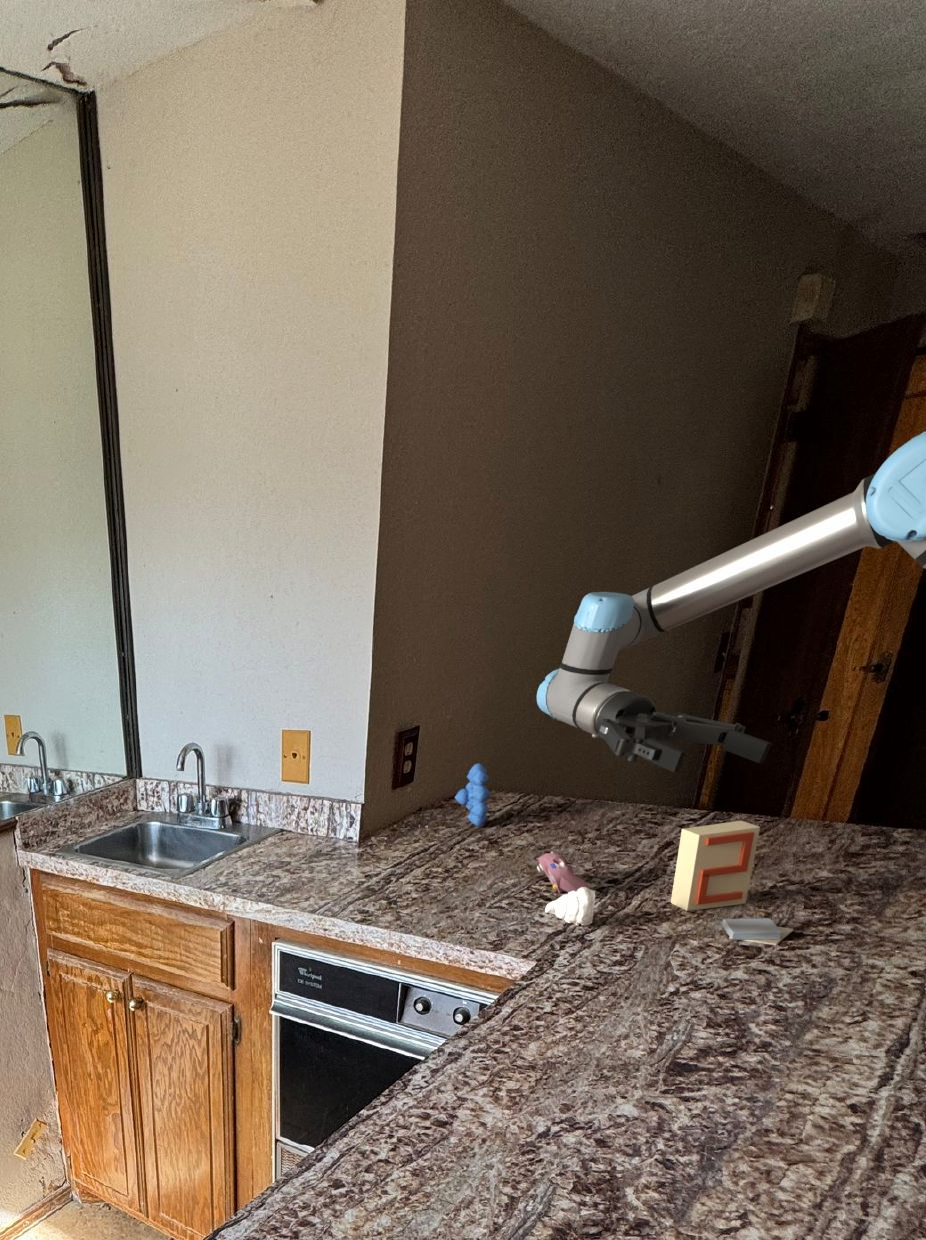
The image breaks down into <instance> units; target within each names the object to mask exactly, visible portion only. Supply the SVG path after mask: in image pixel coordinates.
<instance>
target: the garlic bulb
mask: <svg viewBox="0 0 926 1240" xmlns="http://www.w3.org/2000/svg"><path fill="white" fill-rule="evenodd" d="M595 902H596V890H593V889H591V888H590V889H588V888H587V887H581V888H579V889H578V891H571V892H569V893H568V892H567V893H564V894H563V895H561V896H560V897H558V898H557V899H556V900H552V901H549V902H548V903H547V904H546V906H545V909H544V910H545V913H546V914H548V913H549V914H552V915H555V917H556V918H558V919H560V920H561V919H562V920H564V922H566V923H568V924H574V925H576V926H578V927H579V926H580V925H581V926H584V927H585V926H589V925H591V924H592V923H593V920H594V913H595Z"/></svg>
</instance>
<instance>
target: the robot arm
mask: <svg viewBox="0 0 926 1240" xmlns="http://www.w3.org/2000/svg"><path fill="white" fill-rule="evenodd" d="M894 543H898V545H899V546H900V547H902V548H903V550H904V551H906V552H907V554H909V556H911V557H912V559H914V560H915V561H916V563H918V564H919V565H920V566H921V567H922V568H923V569H926V431H923V432H922V433H920V434H918V435H916V436H914V437H912V438H911V439H910V440H908V441H907V442H906V443H904V444H902V446H900V447H898V448H897V449H896V450H895V451H893V453H892V454H890V456H888V457H887V458H886V460H885V461H884V462H883V463H882V464H881V466H880V467H879V468H878V470H877V471H876V472H875V473H874V474H871V475H870V476H867V477H864V478H863V479H862V480H860V483H859V484H858V485H857V487H856V489H855V490H854V491H853V492H851V493H848V494H847V495H844V496H842V497H840V498H838V499H836V500H833V501H832V502H829V503H827V504H825V505H823V506H821V507H819V508H817V509H815V510H813V511H810V512H808V513H806V514H804V515H801V516H800V517H798V518H795V519H793V520H791V521H789V522H786V523H784V524H782V525H781V526H778V527H775V528H774V529H772V530H770V531H767V532H765V533H763V534H761V535H759V536H757V537H755V538H753V539H751V540H748V541H746V542H744V543H742V544H740V545H737V546H736V547H733V548H732V549H729V550H727V551H725V552H723V553H721V554H719V555H716V556H714V557H712V558H710V559H708V560H705V561H704V562H701V563H700V564H698V565H695V566H693V567H691V568H689V569H687V570H684V571H683V572H682V571H681V572H680V573H678V574H676V575H674V576H672V577H669V578H667V579H665V580H663V581H661V582H659V583H657V584H654V585H653V586H651V587H648V588H646V589H643V590H642V591H639V592H638V593H635V594H632V595H630V594H626V593H621V592H613V591H594V592H593V591H592V592H589V593H587V594H586V595H584V597H583V598H582V599H581V602H580V605H579V608H578V610H577V613H575V616H574V618H573V619H574V620H573V625H572V628H571V631H570V635H569V638H568V642H567V644H566V647H565V651H564V654H563V658H562V660H561V664H560V666H559V668H557V669H555V670H552V671H551V672H550V673H548V674H547V675H546V676H545V677H544V680H543V681H542V682H541V683H540V684H539V686H538V689H537V692H536V704H537V706H538V707H539V709H540V710H541V711H542V712H543V713H545V714H547V715H548V716H550V717H551V718H553V720H556V721H558V722H563V723H565V724H567V725H570V726H571V727H575V728H577V729H579V730H582V731H584V732H586V733H589V734H590V735H591V737H592V738H594V739H597V738H600V739H602V740H604V742H606V744H607V746H608V747H609V748H610V750H611V751H612V753H613V754H614V756H617V757H624V756H625V754H628V756H627V759H626V761H628V762H632V763H636V762H637V761H638V758H639V757H640V759H643V760H645V761H647V762H650V763H652V764H654V765H656V766H658V767H661V768H663V769H666V770H668V771H670V772H672V773H679V772H680V770H681V767H682V764H683V762H684V760H685V757H686V754H687V751H685V750H682V749H679V748H677V747H674V746H673V745H671V744H668V743H676V742H678V741H685V742H692V743H698V744H704V745H712V746H717V747H718V746H719V747H722V750H723V751H726V752H728V753H732V754H733V755H736V756H739V757H742V758H744V759H746V760H750V761H752V762H755V763H757V764H764V762H765V760H766V758H767V756H768V754H769V751H770V749H771V747H772V745H773V743H772V742H770V741H766V740H764V739H761V738H759V737H756V736H753V735H750V734H747V733H745V730H746V726H744V725H741V723H739V722H736V723H735V724H734V723H729V722H723V721H719V720H715V719H714V720H713V719H709V718H703V717H698V716H693V715H689V714H687V713H683V712H681V711H679V712H675V713H674V714H673V715H670V714H669V715H668V714H666V712H660V711H656V706H655V703H654V702H653V700H652V699H651V698H650V697H648V696H646V695H642V694H640V693H638V692H634V691H632V690H629V689H627V688H624V687H622V686H618V685H616V684H613V683H609V678H610V676H611V673H612V671H613V667H614V665H615V662H616V659H617V656H618V654H619V652H620V651H622V650H624V649H628V648H631V647H635V646H637V645H639V644H642V643H644V642H646V641H647V640H649V639H651V638H654V637H657V636H658V635H661V634H663V633H665V632H667V631H669V630H672V629H674V628H677V627H679V626H682V625H683V624H687V623H688V622H691V621H693V620H695V619H698V618H700V617H703V616H705V615H707V614H710V613H712V612H715V611H717V610H720V609H721V608H724V607H726V606H728V605H731V604H734V603H736V602H738V601H741V600H743V599H745V598H747V597H750V596H752V595H754V594H758V593H760V592H762V591H764V590H767V589H768V588H771V587H774V586H776V585H778V584H781V583H783V582H785V581H787V580H788V581H789V580H790V579H793V578H795V577H797V576H799V575H802V574H804V573H807V572H809V571H812V570H813V569H814V570H815V569H816V568H818V567H821V566H823V565H825V564H827V563H831V562H833V561H835V560H837V559H840V558H842V557H844V556H846V555H849V554H851V553H854V552H857V551H858V550H861V549H864V548H866V547H871V548H874V549H878V550H880V549H882V548H884V547H886V546H890V545H891V544H894ZM671 732H672V733H673V734H672V735H670V734H671ZM665 742H668V743H665Z"/></svg>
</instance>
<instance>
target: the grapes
mask: <svg viewBox="0 0 926 1240" xmlns="http://www.w3.org/2000/svg"><path fill="white" fill-rule="evenodd" d="M487 772H488V770H487V768H486V767H484V765H483V764H482V763H479V762H478V763H475V764H474V765H472V767H471V768H470V770H469V771H468V774H467V775H466V778H467V779H468V781H469V782H467V784H466V786H465V788H461V789H459V790H458V792H457V793H456V794H455V796H454V799H455V800H456V802H457V803H458V804H460V805H461V806H464V805H465V807H466V809H468V811H470V812H469V814H468V815H467V819H468V820H469V821H470V823H471V824H472V825H474V826H475V827H477V828H479V827H481V826H483V825H484V824H485V822H486V821H487V820H488V816H487V813H488V812H489V811H490V807H489V806H488V805H487V804H486V802H487V801H488V799H489V798H490V796H491V792H490V790H489V789H488V788H487V787H486V783H487V782H488V781H489V779H490V777H489V775H488V774H487Z"/></svg>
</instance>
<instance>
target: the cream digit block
mask: <svg viewBox="0 0 926 1240" xmlns="http://www.w3.org/2000/svg"><path fill="white" fill-rule="evenodd" d="M760 830H761V826H759V825H756V824H753V823H749V822H747V821H744V820H736V821H728V822H722V823H715V824H714V823H713V824H707V825H700V826H693V827H692V826H691V827H685V828H681V833H680V838H679V839H680V840H679V845H678V853H677V860H676V865H675V871H674V879H673V886H672V892H671V897H670V904H672V905H674V906H675V907H678V908H680V909H682V910H684V911H686V912H690V911H691V912H692V911H699V910H707V909H715V908H721V907H731V906H735V905H736V906H738V905H744V904H746V903H747V898H748V894H749V893H748V892H749V888H750V883H751V878H752V872H753V867H754V862H755V857H756V856H755V855H756V852H757V846H758V842H759V841H758V840H759V835H760Z"/></svg>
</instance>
